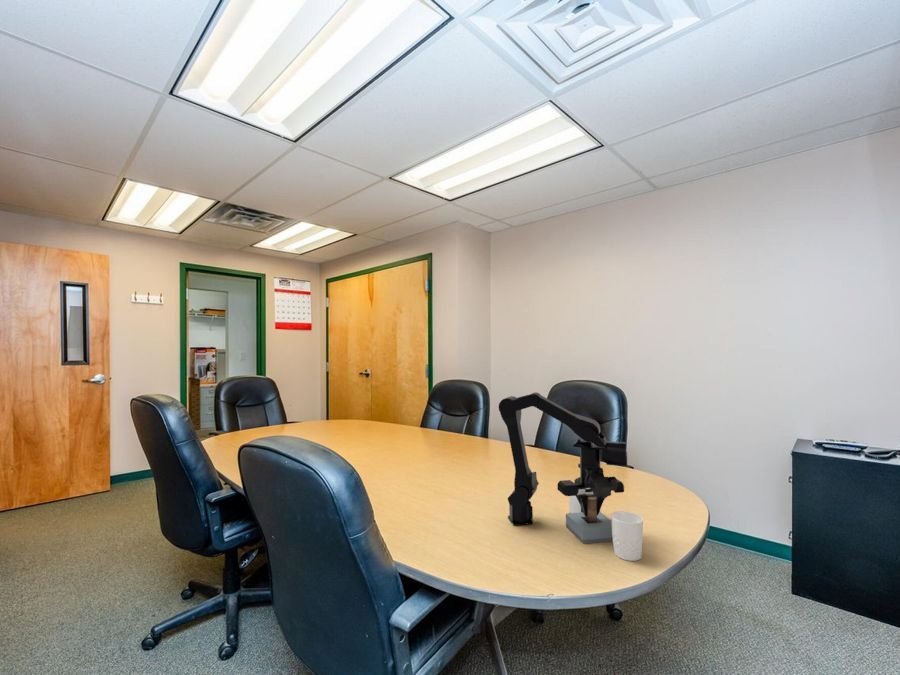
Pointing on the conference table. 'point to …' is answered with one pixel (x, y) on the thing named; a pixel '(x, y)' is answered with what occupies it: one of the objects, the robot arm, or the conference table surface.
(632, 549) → the white cup
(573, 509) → the medicine bottle
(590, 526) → the socket block
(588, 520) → the pin
